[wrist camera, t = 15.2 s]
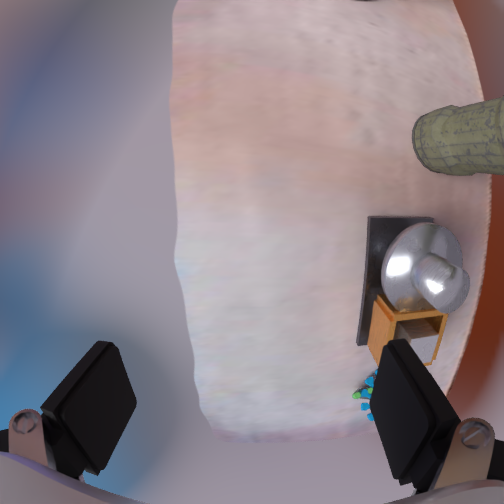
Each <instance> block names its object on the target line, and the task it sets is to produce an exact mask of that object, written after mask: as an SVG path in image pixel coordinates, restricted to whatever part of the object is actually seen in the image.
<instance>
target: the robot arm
mask: <svg viewBox="0 0 504 504" xmlns="http://www.w3.org/2000/svg"><path fill="white" fill-rule="evenodd" d="M136 404H137V402H136V397H135V394H134V392H133V389H132V387H131V384H130V381H129V378H128V376H127V373H126V370H125V367H124V364H123V361H122V358H121V355H120V352H119V349H118V348H117V347H116V346H115V345H114V344H113V343H112V342H107V341H97V342H96V343H95V344H94V345H93V347H92V348H91V349H90V350H89V351H88V352H87V353H86V354H85V356H84V357H83V358H82V359H81V360H80V361H79V362H78V363H77V364H76V366H75V367H74V368H73V369H72V370H71V371H70V372H69V374H68V375H67V376H66V377H65V379H63V381H62V382H61V383H60V384H59V385H58V386H57V388H56V389H55V390H54V391H53V392H52V394H51V395H50V396H49V397H48V398H47V400H46V401H45V402H44V403H43V404H42V406H41V407H40V408H41V410H42V411H43V414H42V415H40V414H39V413H38V412H37V411H36V410H33V409H24V410H21V411H19V412H17V413H16V414H14V416H13V417H12V418H11V420H10V422H9V429H5V430H1V431H0V504H148V503H144V502H140V501H137V500H133V499H129V498H126V497H123V496H120V495H116V494H113V493H110V492H108V491H105V490H102V489H99V488H96V487H93V486H91V485H89V484H86V483H85V481H84V478H83V474H82V473H83V471H84V470H85V471H86V472H89V473H92V474H94V475H97V476H98V475H99V473H100V471H101V470H104V469H105V467H106V465H107V463H108V461H109V459H110V457H111V455H112V453H113V451H114V449H115V447H116V445H117V443H118V441H119V439H120V437H121V435H122V433H123V431H124V429H125V427H126V425H127V423H128V421H129V419H130V417H131V416H132V414H133V412H134V409H135V408H136ZM370 410H371V413H372V415H373V418H374V421H375V424H376V427H377V430H378V432H379V435H380V438H381V441H382V444H383V447H384V450H385V453H386V456H387V459H388V463H389V466H390V469H391V472H392V475H393V478H394V479H398V480H399V483H400V485H404V484H408V483H411V482H412V483H413V486H414V488H415V490H414V492H413V494H412V495H411V497H407V498H404V499H400V500H396V501H393V502H389V503H385V504H504V441H500V440H496V439H495V433H494V430H493V427H492V426H491V425H490V424H489V423H488V422H487V421H485V420H483V419H480V418H468V419H465V420H463V421H462V422H461V420H460V419H459V417H458V415H457V414H456V412H455V411H454V409H453V407H452V406H451V404H450V403H449V401H448V400H447V398H446V396H445V395H444V393H443V392H442V390H441V389H440V387H439V386H438V384H437V383H436V381H435V380H434V378H433V377H432V375H431V374H430V373H429V371H428V370H427V368H426V367H425V366H424V364H423V363H422V361H421V360H420V358H419V357H418V355H417V354H416V353H415V351H414V350H413V348H412V347H411V346H410V344H409V343H408V341H407V340H406V339H405V338H402V339H395V340H390V341H388V343H387V345H384V346H383V349H382V353H381V358H380V362H379V367H378V371H377V375H376V379H375V383H374V387H373V390H372V394H371V397H370Z"/></svg>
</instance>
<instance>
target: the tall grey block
mask: <svg viewBox="0 0 504 504" xmlns="http://www.w3.org/2000/svg"><path fill="white" fill-rule="evenodd" d="M438 337H439V334H438V333H437V332H436V331H435V330H434V329H433V328H432V327H431V325H430V324H429V323H428V322H427V321H426V320H425V319H424V318H418V319H410V320H402V321H397V322H396V327H395V332H394V336H393V340H395V339H402V338H405V339H406V340H407V341H408V343H409V344H410V346H411V347H412V348H413V350H414V351H415V353H416V354H417V355H418V357H419V358H420V360H421V361H422V363H427V362H431V360H432V356H433V353H434V350H435V347H436V344H437V340H438Z"/></svg>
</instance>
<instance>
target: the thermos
mask: <svg viewBox="0 0 504 504" xmlns="http://www.w3.org/2000/svg"><path fill="white" fill-rule="evenodd" d="M412 143H413V148H414V151H415V153H416V155H417V158H418V159H419V161H420V162H421V163H422V164H423V166H425V167H426V168H427V169H429V170H430V171H433V172H436V173H444V174H447V175H457V176H466V175H473V174H475V173H487V174H497V175H504V96H503V97H501V98H496V99H492V100H488V101H483V102H479V103H475V104H471V105H467V106H463V107H457V106H453V105H450V106H446V107H443V108H440V109H437V110H434V111H432V112H430V113H428V114H425V115H423V116H421V117H420V118H419V119H418V120H417V121H416V122H415V125H414V127H413V130H412Z"/></svg>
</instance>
